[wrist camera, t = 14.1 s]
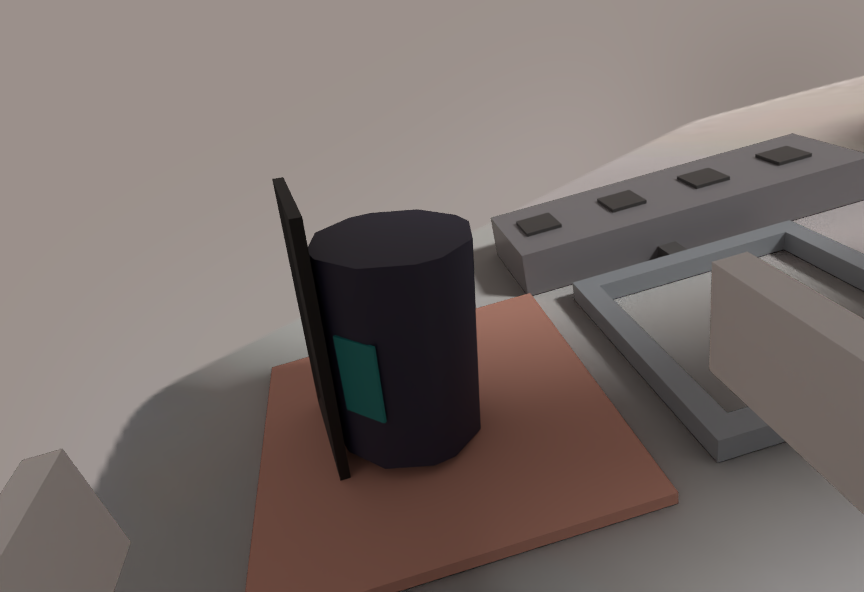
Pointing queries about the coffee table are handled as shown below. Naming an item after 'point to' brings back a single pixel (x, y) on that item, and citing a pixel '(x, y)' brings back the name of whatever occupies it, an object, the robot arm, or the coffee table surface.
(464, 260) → the speaker
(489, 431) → the mat
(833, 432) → the robot arm
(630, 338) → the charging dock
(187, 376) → the coffee table surface
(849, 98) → the coffee table surface
